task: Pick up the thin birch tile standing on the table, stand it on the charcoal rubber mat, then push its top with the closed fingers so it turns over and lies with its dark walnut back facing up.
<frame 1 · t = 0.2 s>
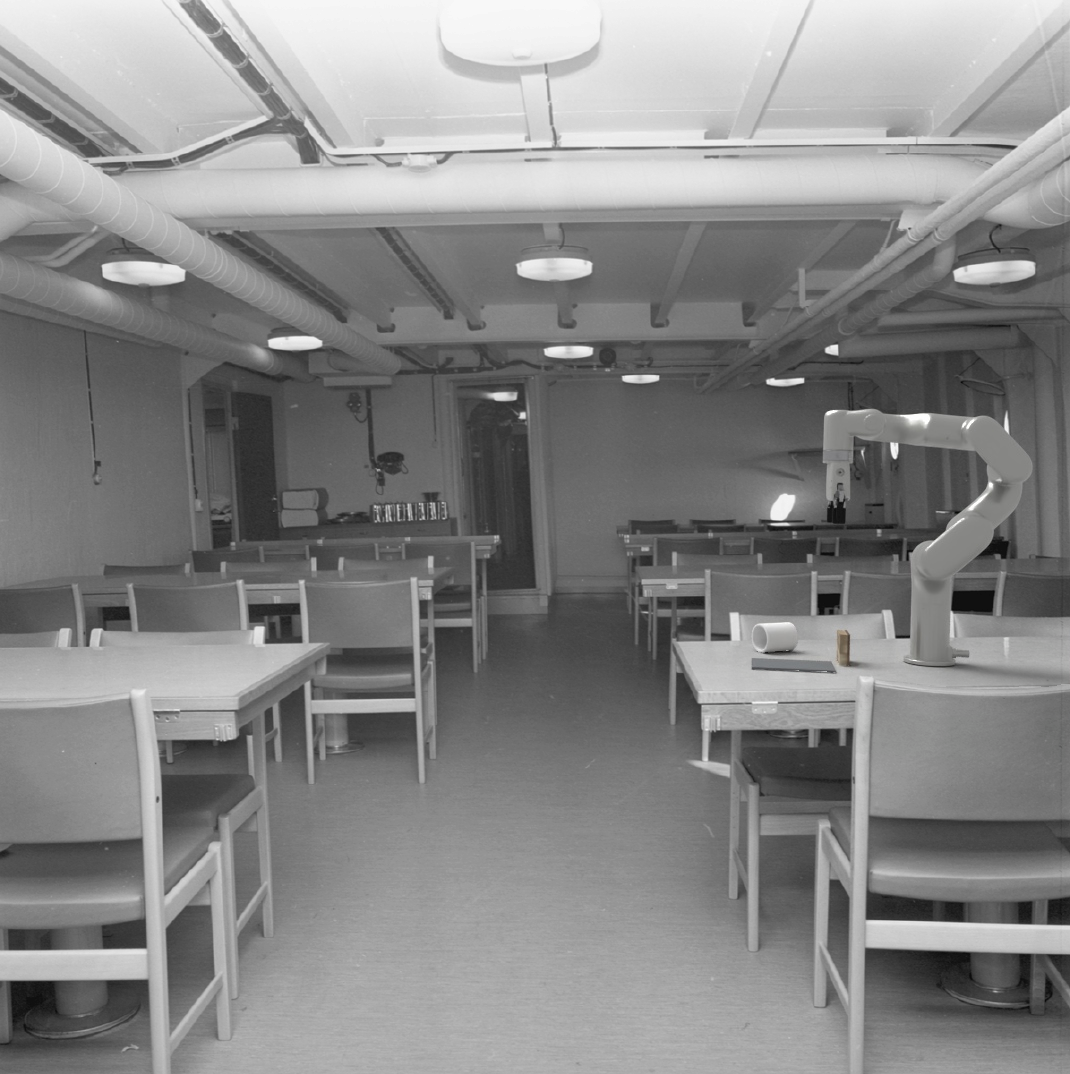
hand: (835, 523, 261), 36 cm above the table, tool pointing down, fingers open, 9 cm apart
mug: (769, 651, 276), on the table
tile: (842, 663, 257), on the table
mat: (792, 666, 251), on the table
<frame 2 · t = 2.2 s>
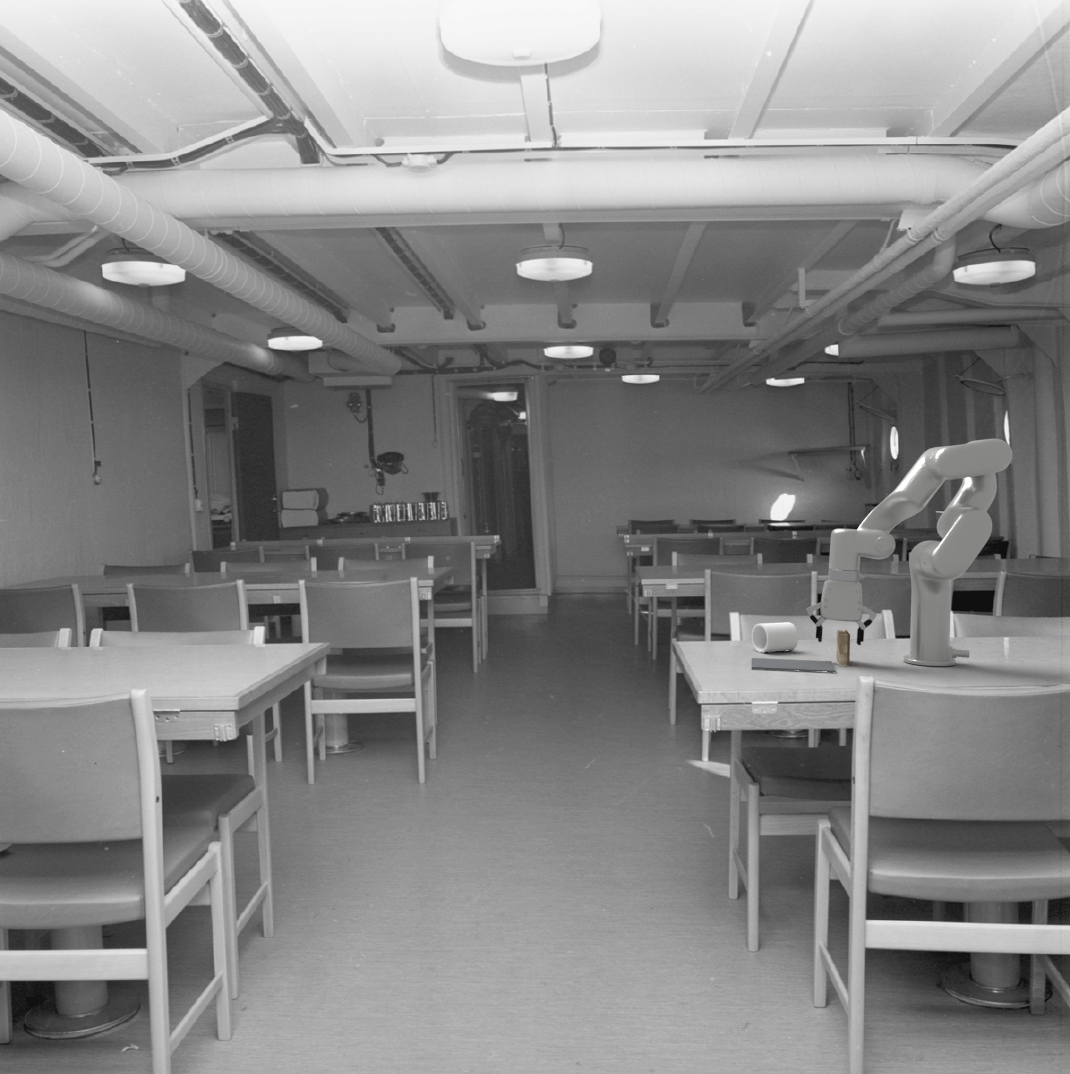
hand: (839, 642, 256), 5 cm above the table, tool pointing down, fingers open, 9 cm apart
nothing on the table moved.
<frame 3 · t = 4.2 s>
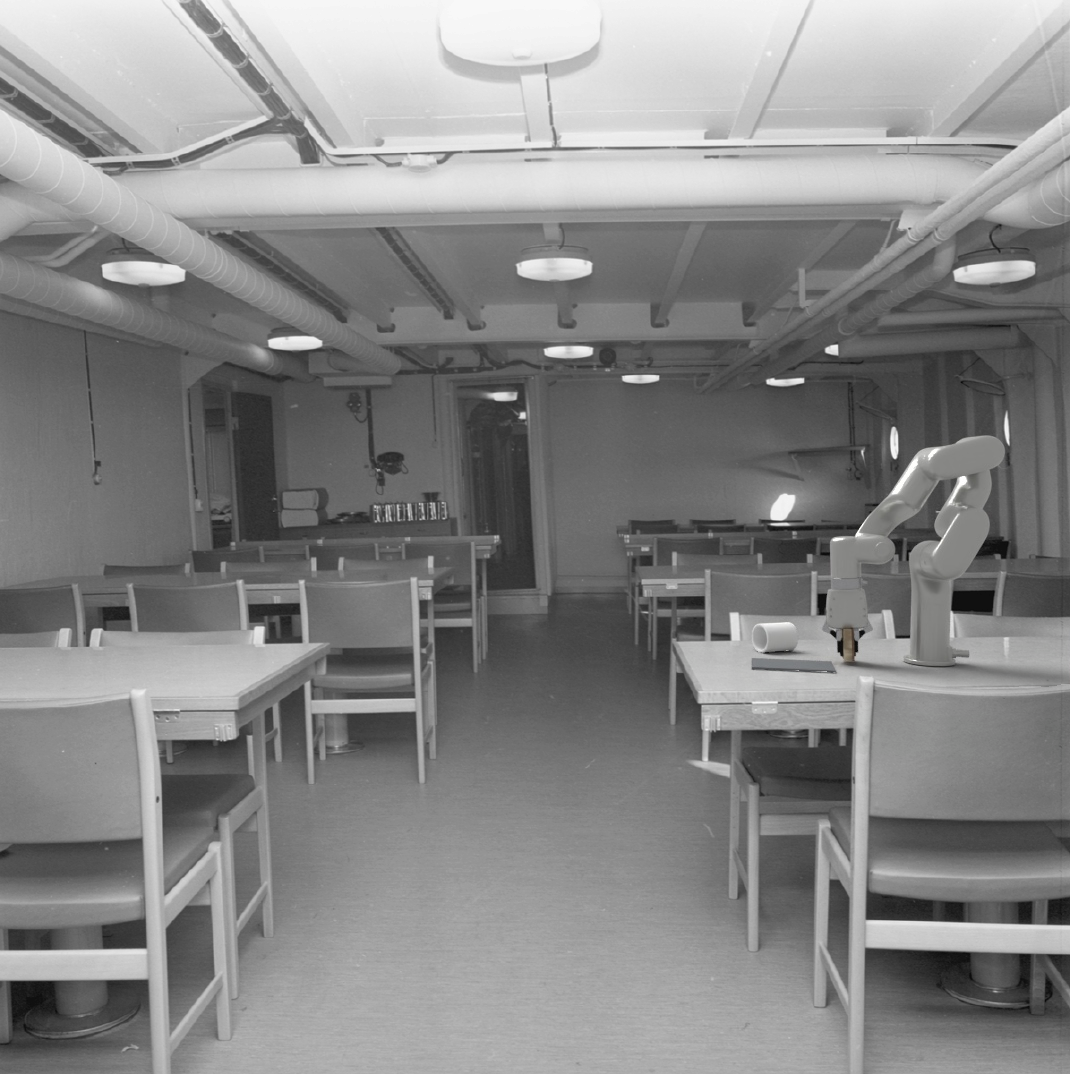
hand: (847, 654, 257), 2 cm above the table, tool pointing down, fingers closed on tile, 2 cm apart
tile: (847, 658, 257), point 1 cm above the table, touching gripper
everything else where it was.
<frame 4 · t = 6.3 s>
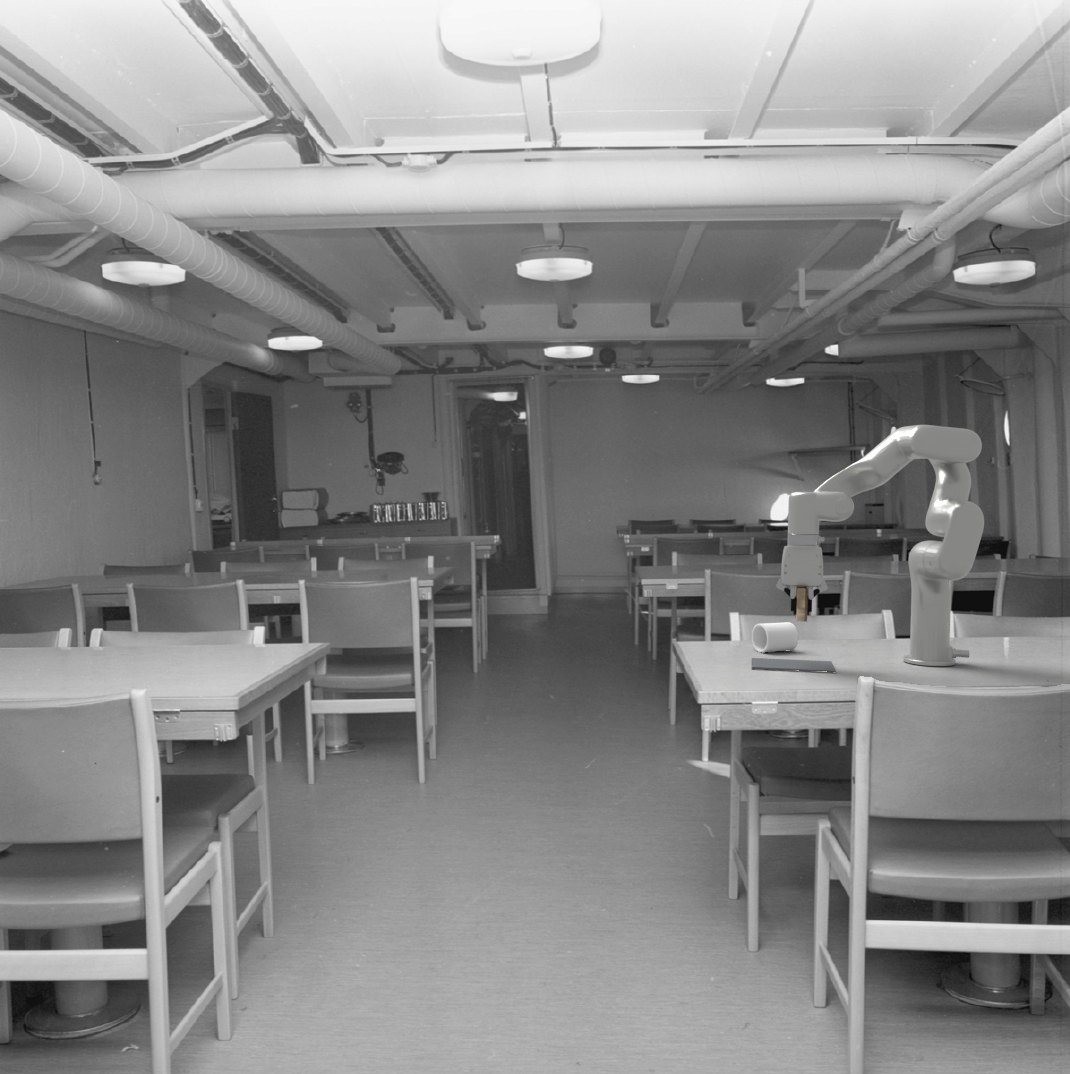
hand: (801, 613, 250), 13 cm above the table, tool pointing down, fingers closed on tile
tile: (800, 619, 250), point 12 cm above the table, touching gripper
everything else where it was.
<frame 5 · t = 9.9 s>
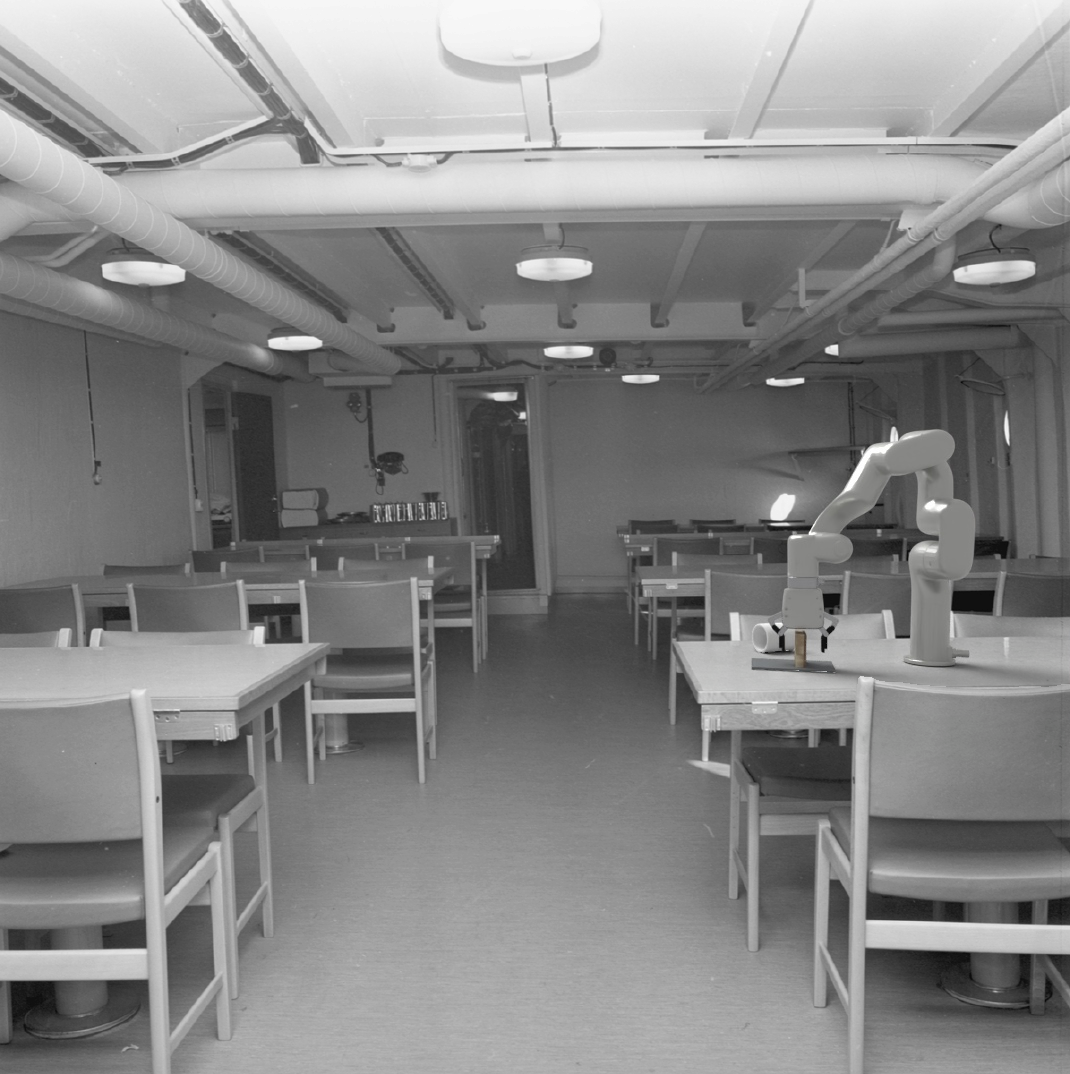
hand: (802, 651, 250), 4 cm above the table, tool pointing down, fingers open, 9 cm apart
tile: (800, 664, 250), point 1 cm above the table, touching mat
everything else where it was.
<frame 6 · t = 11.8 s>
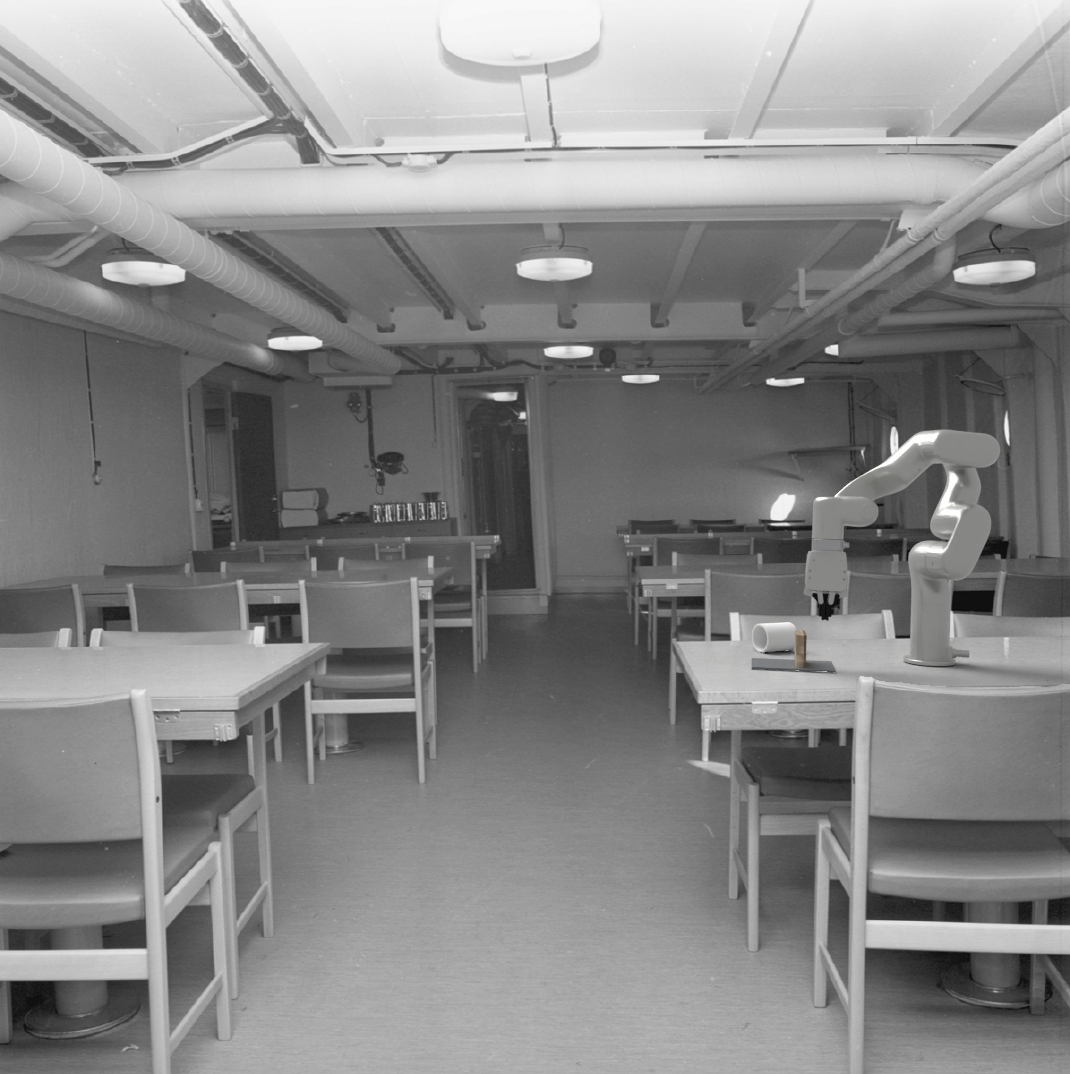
hand: (824, 619, 248), 12 cm above the table, tool pointing down, fingers closed
nothing on the table moved.
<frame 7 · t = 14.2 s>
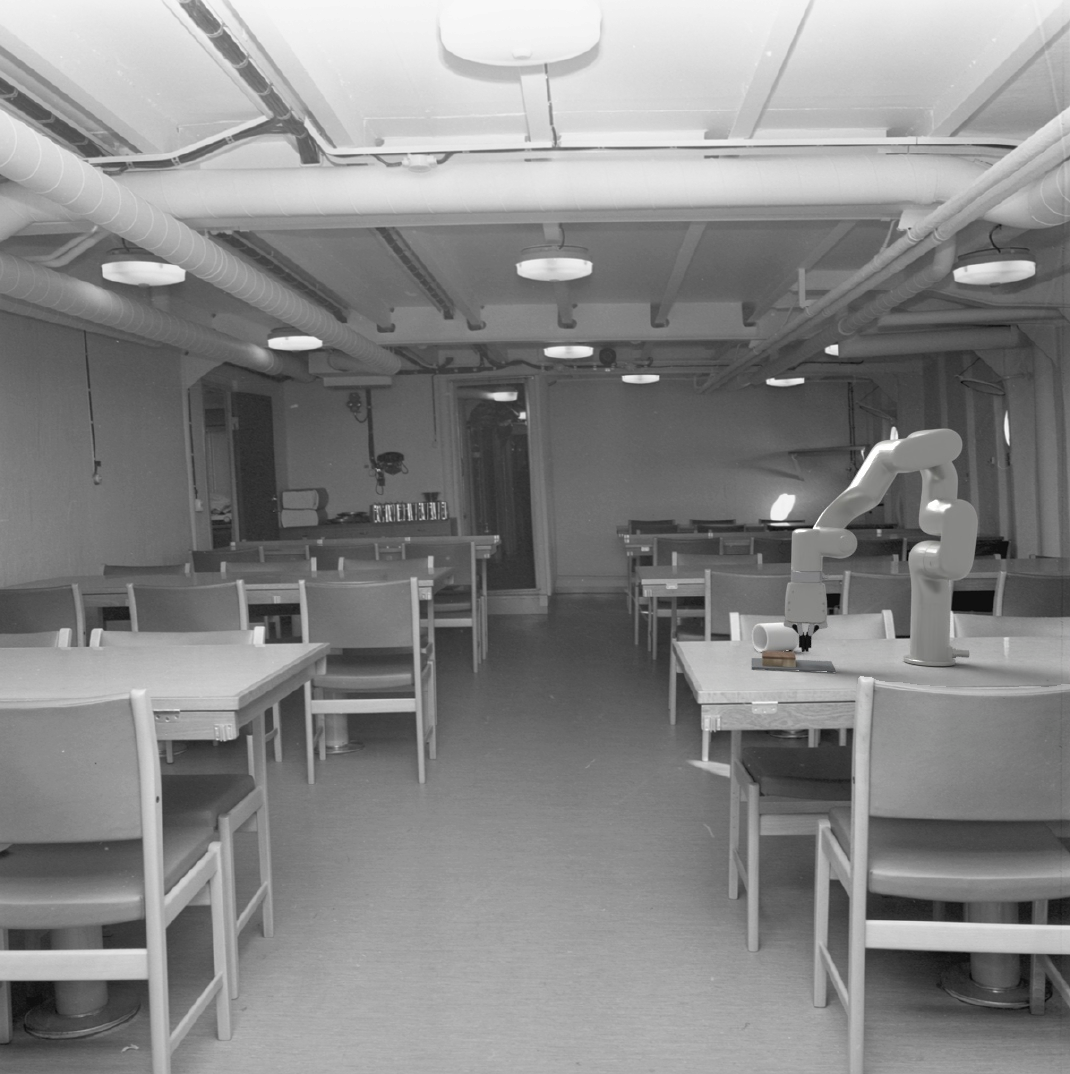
hand: (804, 650, 250), 4 cm above the table, tool pointing down, fingers closed
tile: (794, 659, 250), point 2 cm above the table, tilted 90°, touching mat
everything else where it was.
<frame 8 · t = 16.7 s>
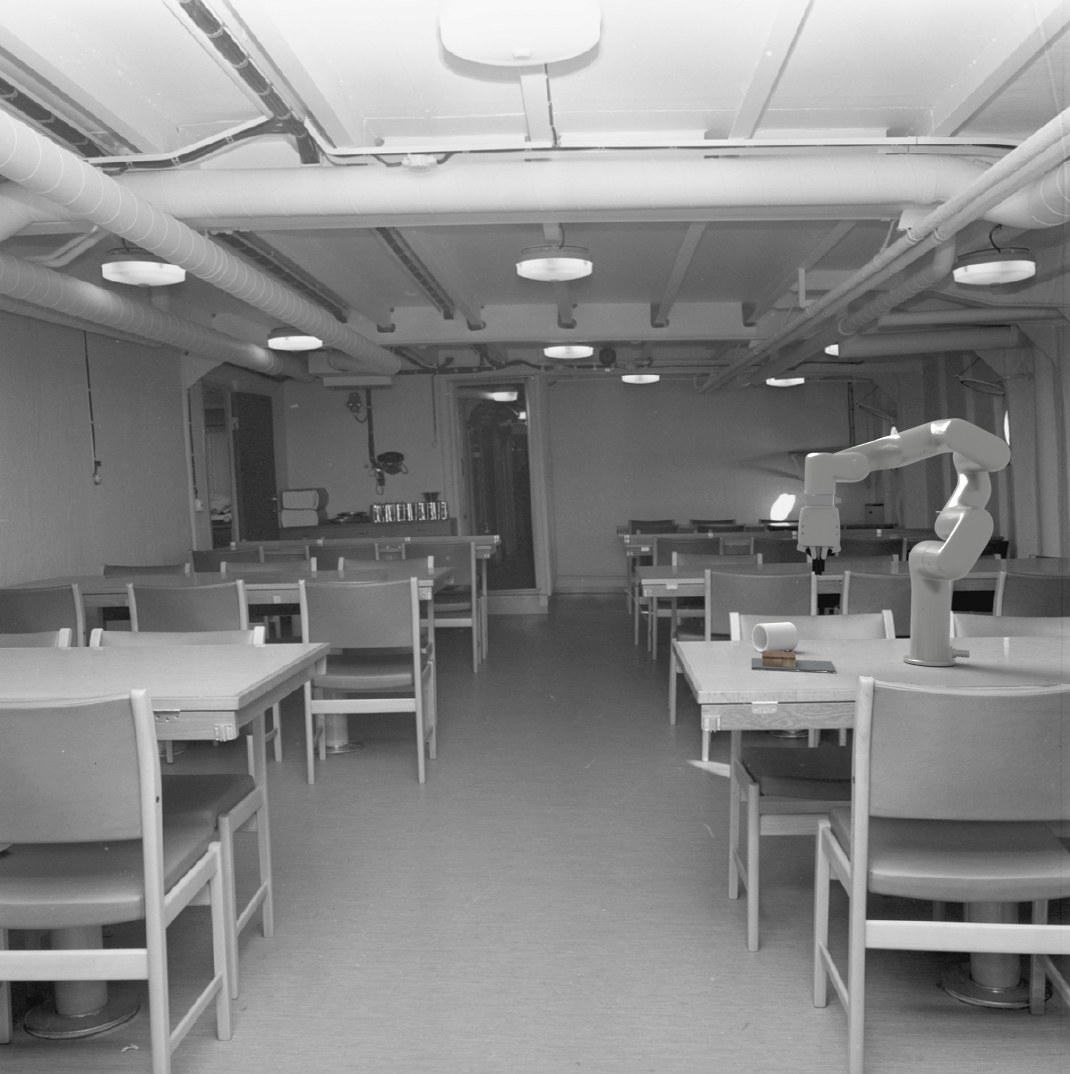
hand: (818, 574, 251), 23 cm above the table, tool pointing down, fingers closed
nothing on the table moved.
at the end: tile tilted 90°; tile inside the target area (1.1 cm from its centre), point 1.8 cm above the table; the gripper is holding nothing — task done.
